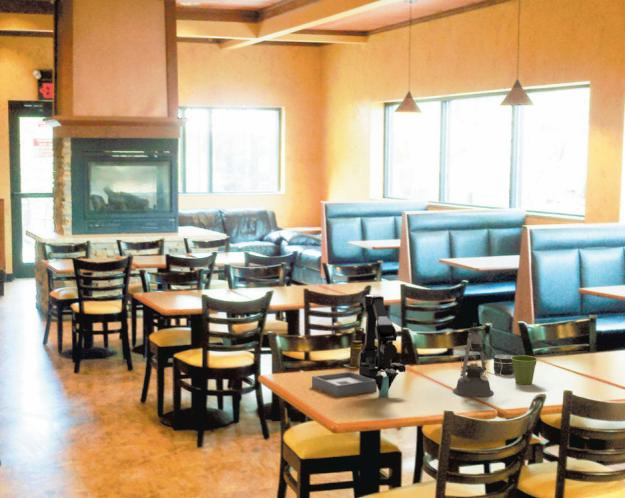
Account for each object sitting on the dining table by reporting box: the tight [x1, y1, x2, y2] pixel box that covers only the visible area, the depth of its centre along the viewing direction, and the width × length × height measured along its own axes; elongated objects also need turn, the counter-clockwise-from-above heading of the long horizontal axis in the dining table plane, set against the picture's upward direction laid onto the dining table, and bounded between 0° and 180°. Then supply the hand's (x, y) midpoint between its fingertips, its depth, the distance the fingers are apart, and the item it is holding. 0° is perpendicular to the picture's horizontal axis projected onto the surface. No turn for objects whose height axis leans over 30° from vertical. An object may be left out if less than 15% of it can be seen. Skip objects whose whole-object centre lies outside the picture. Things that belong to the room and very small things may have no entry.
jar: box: [493, 354, 514, 376], centre depth 454 cm, size 10×10×8 cm
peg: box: [378, 375, 390, 398], centre depth 408 cm, size 4×4×8 cm
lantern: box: [452, 322, 502, 399], centre depth 413 cm, size 18×20×30 cm
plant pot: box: [511, 355, 539, 385], centre depth 434 cm, size 12×12×11 cm
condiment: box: [343, 339, 363, 369], centre depth 465 cm, size 7×8×12 cm
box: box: [311, 371, 378, 397], centre depth 419 cm, size 20×20×4 cm
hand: (383, 389), depth 408 cm, fingers closed on peg, 4 cm apart
